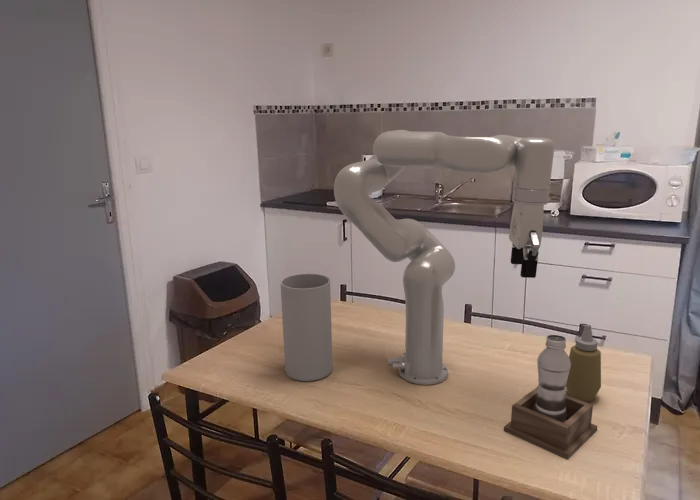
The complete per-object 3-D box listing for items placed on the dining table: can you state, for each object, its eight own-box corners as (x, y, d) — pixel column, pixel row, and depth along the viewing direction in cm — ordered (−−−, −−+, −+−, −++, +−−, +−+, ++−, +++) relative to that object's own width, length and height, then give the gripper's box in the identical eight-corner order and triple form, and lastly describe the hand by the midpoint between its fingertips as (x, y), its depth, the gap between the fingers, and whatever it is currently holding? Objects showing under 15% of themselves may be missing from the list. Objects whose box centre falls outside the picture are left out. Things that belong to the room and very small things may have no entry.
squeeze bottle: (596, 408, 125) (604, 335, 120) (559, 399, 129) (566, 328, 125) (602, 393, 132) (609, 323, 127) (566, 384, 136) (573, 316, 131)
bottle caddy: (567, 459, 107) (570, 432, 106) (503, 430, 117) (505, 405, 116) (597, 429, 117) (599, 404, 115) (535, 405, 127) (537, 382, 125)
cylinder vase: (342, 369, 145) (340, 280, 139) (307, 387, 136) (303, 292, 130) (310, 356, 154) (306, 270, 147) (275, 372, 145) (270, 282, 138)
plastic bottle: (568, 434, 114) (577, 345, 109) (534, 431, 115) (541, 343, 110) (562, 417, 120) (570, 332, 115) (530, 414, 121) (537, 330, 116)
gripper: (504, 188, 128) (498, 258, 133) (522, 202, 111) (514, 282, 116) (537, 189, 128) (529, 259, 132) (560, 203, 111) (550, 283, 116)
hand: (522, 270), depth 124 cm, fingers open, 9 cm apart
